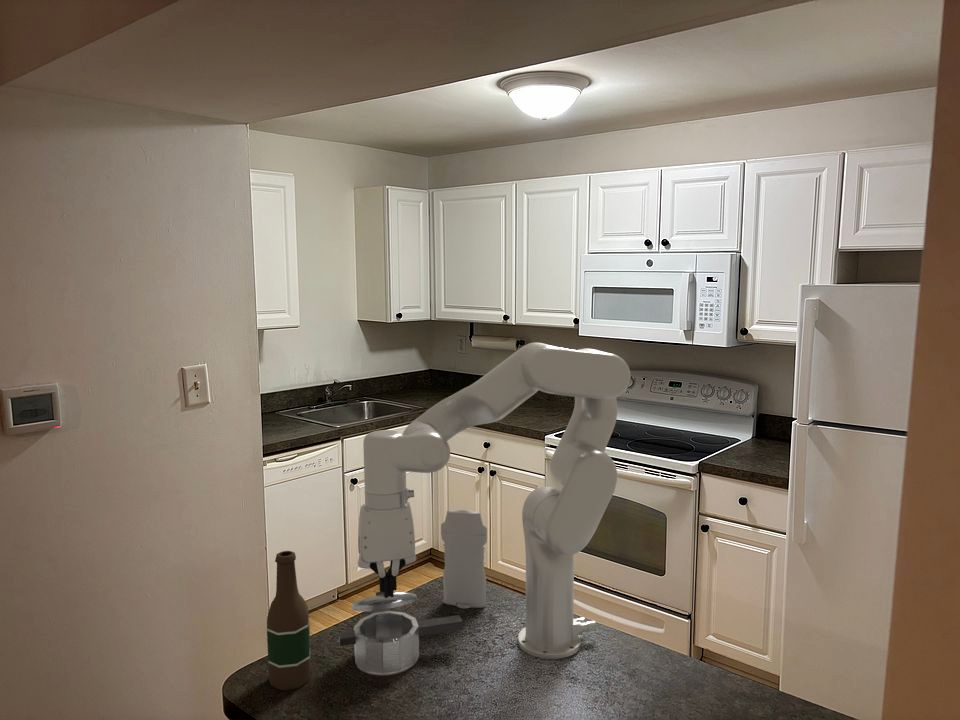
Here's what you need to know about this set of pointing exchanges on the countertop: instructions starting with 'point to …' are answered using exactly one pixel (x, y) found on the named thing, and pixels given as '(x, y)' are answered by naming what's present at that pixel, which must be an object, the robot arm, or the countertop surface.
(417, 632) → the pot
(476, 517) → the tall pale column
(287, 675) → the beer bottle
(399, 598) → the lid
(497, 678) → the countertop surface
